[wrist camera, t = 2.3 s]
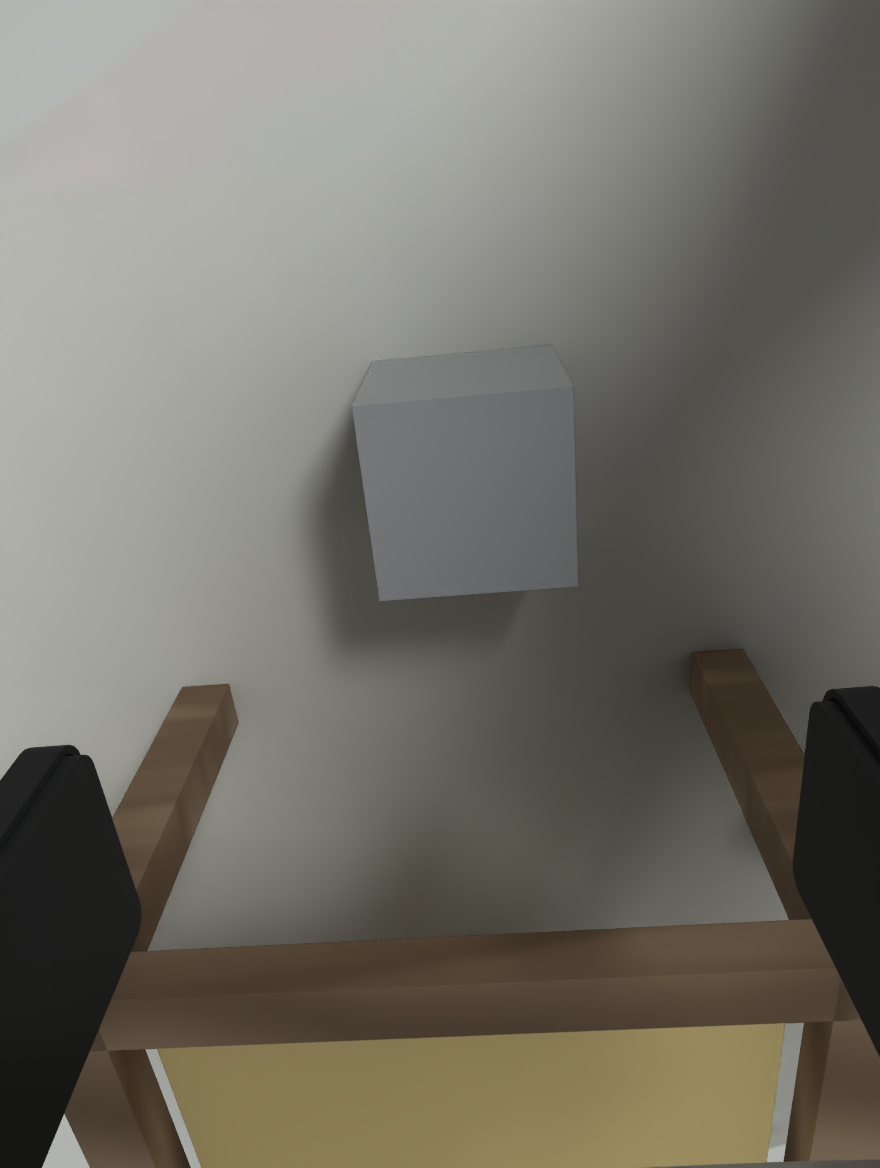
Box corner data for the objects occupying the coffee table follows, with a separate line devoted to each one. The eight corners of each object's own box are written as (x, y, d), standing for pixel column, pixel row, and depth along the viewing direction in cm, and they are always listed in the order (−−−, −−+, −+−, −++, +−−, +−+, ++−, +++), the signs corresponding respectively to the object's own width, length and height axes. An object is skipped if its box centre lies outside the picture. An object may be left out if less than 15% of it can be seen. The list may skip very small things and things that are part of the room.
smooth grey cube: (372, 360, 24) (351, 406, 19) (551, 344, 23) (573, 386, 19) (393, 525, 26) (379, 601, 21) (557, 512, 25) (578, 586, 21)
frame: (182, 687, 28) (12, 1004, 18) (742, 648, 27) (926, 964, 17) (280, 1045, 37) (205, 1410, 26) (714, 1027, 35) (824, 1402, 25)
